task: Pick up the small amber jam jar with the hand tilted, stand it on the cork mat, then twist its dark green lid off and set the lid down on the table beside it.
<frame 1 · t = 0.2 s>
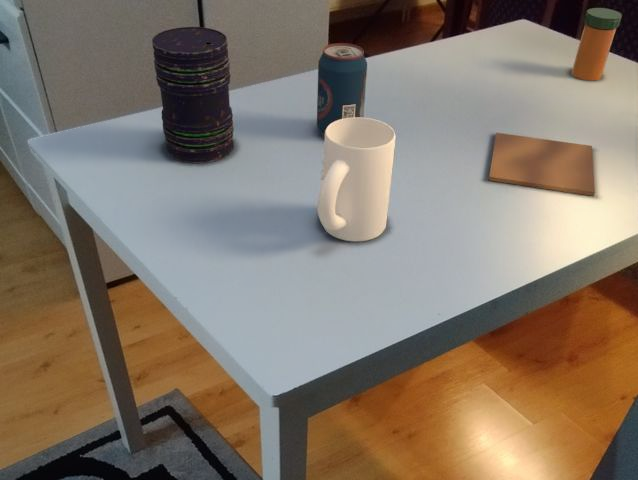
jar lid: (603, 15, 116), point 10 cm above the table, screwed on, not yet turned
mat: (541, 164, 97), on the table
soda can: (339, 133, 103), on the table
mug: (344, 232, 84), on the table
jar: (586, 74, 122), on the table
dark ridged cylinder: (200, 148, 98), on the table
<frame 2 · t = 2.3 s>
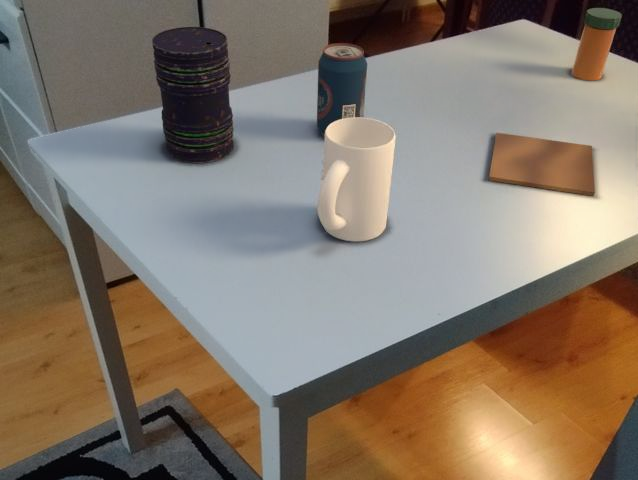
nothing on the table moved.
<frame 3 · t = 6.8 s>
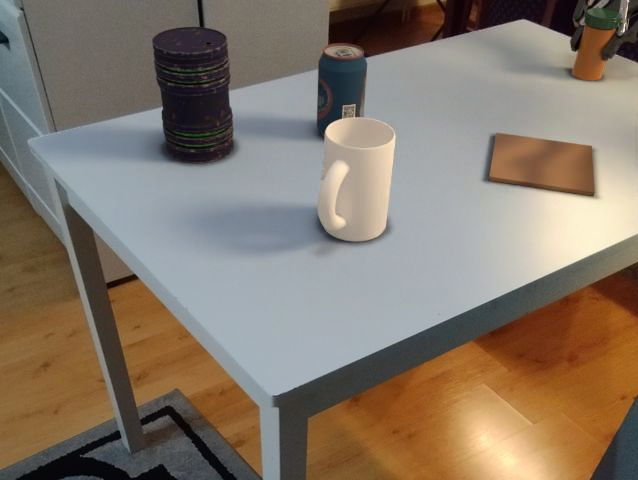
hand: (588, 53, 119), 4 cm above the table, tool tilted 45°, fingers closed on jar, 5 cm apart
jar: (586, 74, 122), on the table, touching gripper
everything else where it was.
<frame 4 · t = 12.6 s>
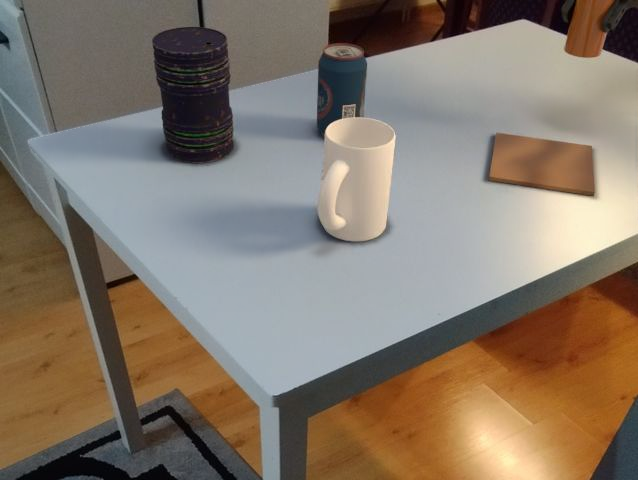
hand: (584, 23, 95), 16 cm above the table, tool tilted 45°, fingers closed on jar, 5 cm apart
jar: (582, 51, 98), point 12 cm above the table, touching gripper
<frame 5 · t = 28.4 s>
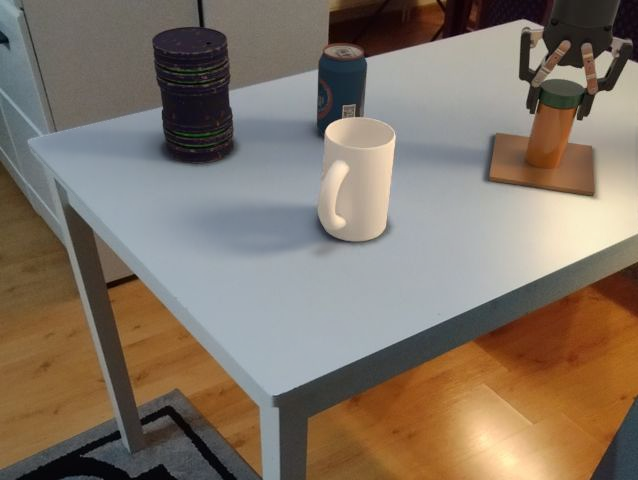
hand: (555, 114, 92), 7 cm above the table, tool pointing down, fingers closed on jar lid, 5 cm apart
jar lid: (561, 90, 90), point 11 cm above the table, screwed on, not yet turned, touching gripper
jar: (543, 159, 97), point 1 cm above the table, touching mat
everything else where it was.
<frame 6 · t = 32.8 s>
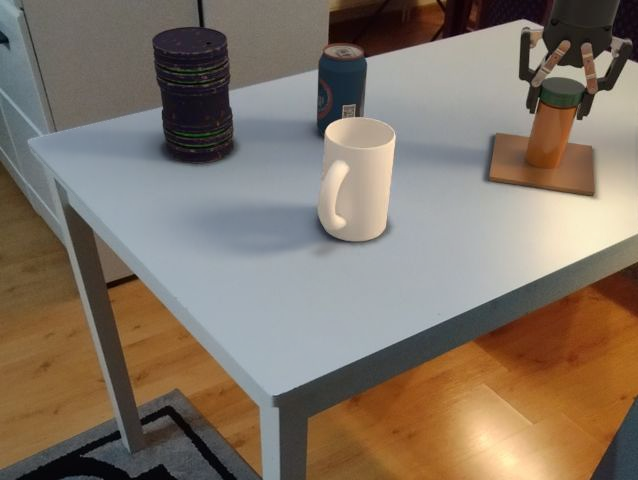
hand: (555, 114, 92), 7 cm above the table, tool pointing down, fingers closed on jar lid, 5 cm apart
jar lid: (562, 88, 90), point 11 cm above the table, turned 89° so far, risen 0.2 cm, still on its thread, touching gripper
everything else where it was.
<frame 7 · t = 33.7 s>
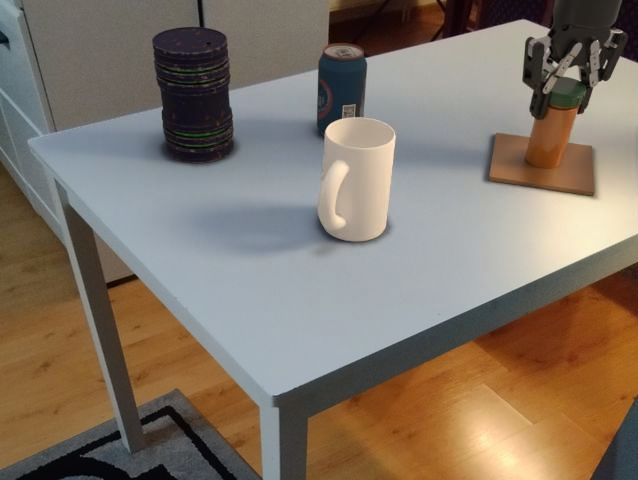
hand: (556, 114, 92), 7 cm above the table, tool pointing down, fingers closed on jar lid, 5 cm apart
jar lid: (563, 88, 90), point 11 cm above the table, turned 123° so far, risen 0.3 cm, still on its thread, touching gripper
everything else where it was.
when the fingers open (0 cm above the table, at t = 42.3 s): jar lid drops 2 cm, point 1 cm above the table.
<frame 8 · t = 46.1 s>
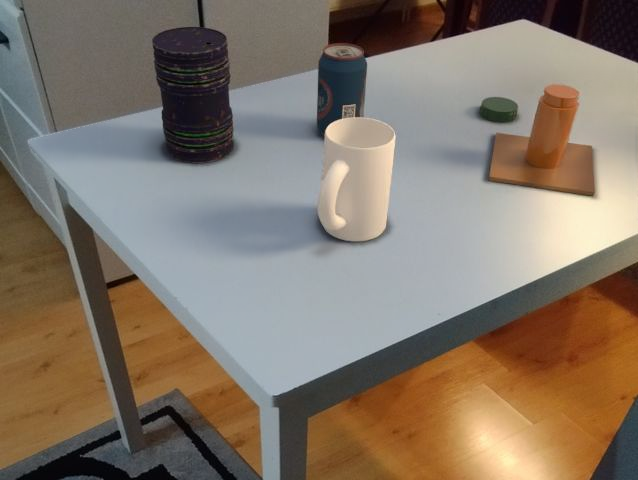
jar lid: (499, 106, 108), point 1 cm above the table, off its thread
everything else where it was.
at the end: jar inside the target area on the mat (0.3 cm from its centre), point 0.6 cm above the mat's base; jar lid point 1.3 cm above the table; the gripper is holding nothing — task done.
